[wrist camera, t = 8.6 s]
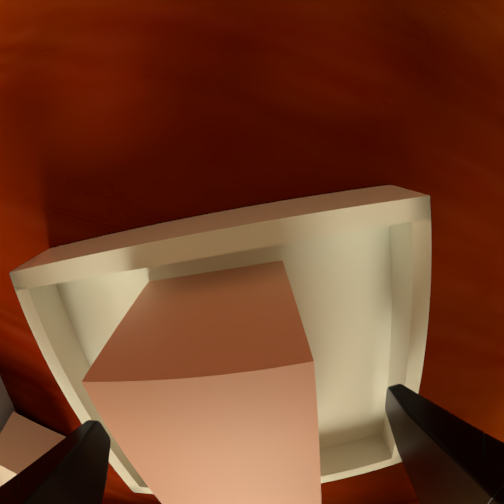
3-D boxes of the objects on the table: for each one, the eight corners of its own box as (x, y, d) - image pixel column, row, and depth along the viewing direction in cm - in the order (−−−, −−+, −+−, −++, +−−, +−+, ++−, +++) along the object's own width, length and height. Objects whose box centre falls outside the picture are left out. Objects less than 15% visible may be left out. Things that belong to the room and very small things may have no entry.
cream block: (77, 441, 13) (62, 494, 9) (70, 477, 14) (59, 524, 10) (13, 411, 12) (-13, 457, 8) (13, 451, 13) (-6, 494, 9)
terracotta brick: (304, 440, 12) (321, 538, 7) (209, 451, 12) (200, 546, 7) (282, 260, 9) (313, 361, 5) (148, 281, 9) (80, 381, 5)
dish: (386, 424, 13) (402, 461, 10) (143, 454, 13) (133, 492, 11) (390, 184, 10) (430, 195, 7) (48, 248, 10) (8, 272, 8)
